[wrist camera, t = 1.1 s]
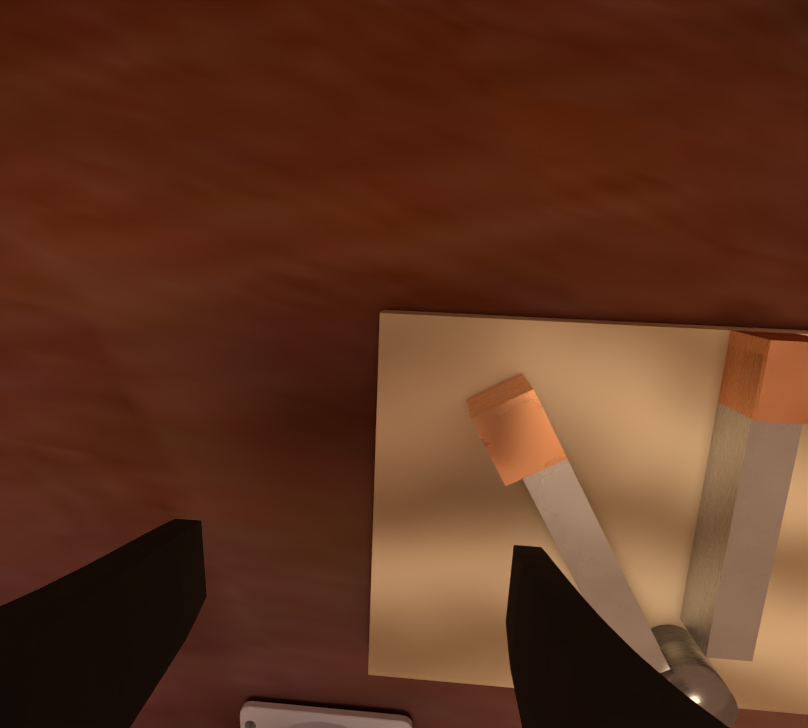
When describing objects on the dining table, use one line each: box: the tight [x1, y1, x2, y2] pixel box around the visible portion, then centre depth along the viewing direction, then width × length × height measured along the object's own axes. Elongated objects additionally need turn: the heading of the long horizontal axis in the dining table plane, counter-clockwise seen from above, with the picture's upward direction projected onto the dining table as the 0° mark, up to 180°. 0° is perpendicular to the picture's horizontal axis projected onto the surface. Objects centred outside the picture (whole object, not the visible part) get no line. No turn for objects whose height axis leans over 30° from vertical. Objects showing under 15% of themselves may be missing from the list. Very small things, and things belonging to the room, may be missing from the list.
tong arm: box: [467, 374, 670, 673], centre depth 18 cm, size 12×2×2 cm, turn 28°
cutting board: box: [368, 310, 808, 714], centre depth 20 cm, size 15×18×1 cm
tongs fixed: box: [651, 330, 808, 728], centre depth 18 cm, size 15×4×3 cm, turn 178°
